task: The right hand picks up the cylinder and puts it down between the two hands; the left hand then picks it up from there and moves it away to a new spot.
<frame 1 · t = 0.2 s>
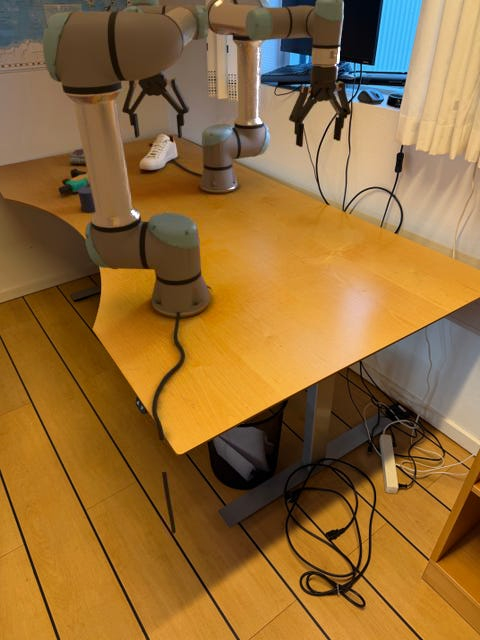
left hand: (158, 136, 149), 29 cm above the table, tool pointing down, fingers open, 13 cm apart
right hand: (318, 142, 145), 28 cm above the table, tool pointing down, fingers open, 13 cm apart
sneaker: (158, 164, 218), on the table
toy gun: (90, 162, 222), on the table
toy gun 2: (77, 186, 196), on the table
cylinder: (91, 208, 177), on the table
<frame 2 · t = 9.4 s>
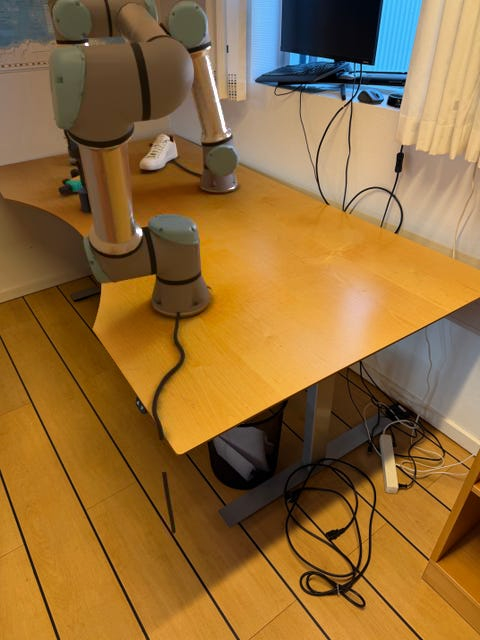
left hand: (93, 152, 128), 32 cm above the table, tool pointing down, fingers open, 13 cm apart
right hand: (91, 207, 177), 0 cm above the table, tool pointing down, fingers closed on cylinder, 7 cm apart
cylinder: (91, 208, 177), on the table, touching right hand
everything else where it was.
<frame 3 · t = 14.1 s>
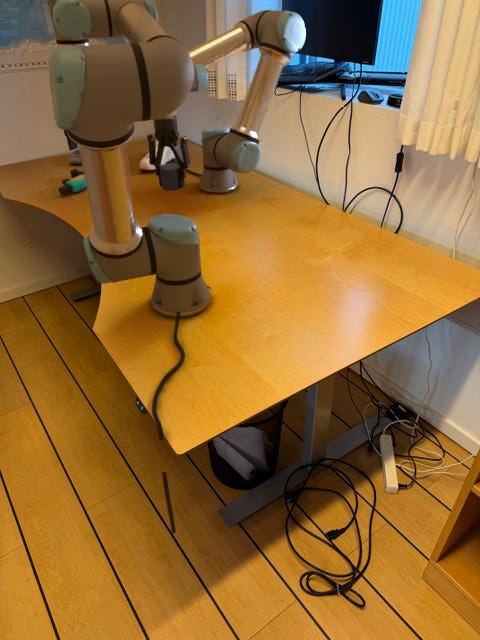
left hand: (93, 152, 128), 32 cm above the table, tool pointing down, fingers open, 13 cm apart
right hand: (172, 186, 165), 11 cm above the table, tool pointing down, fingers closed on cylinder, 7 cm apart
cylinder: (172, 187, 166), point 10 cm above the table, touching right hand
everything else where it was.
when the right hand's fingers open (2 cm above the table, at t = 18.8 s): cylinder drops 1 cm, on the table.
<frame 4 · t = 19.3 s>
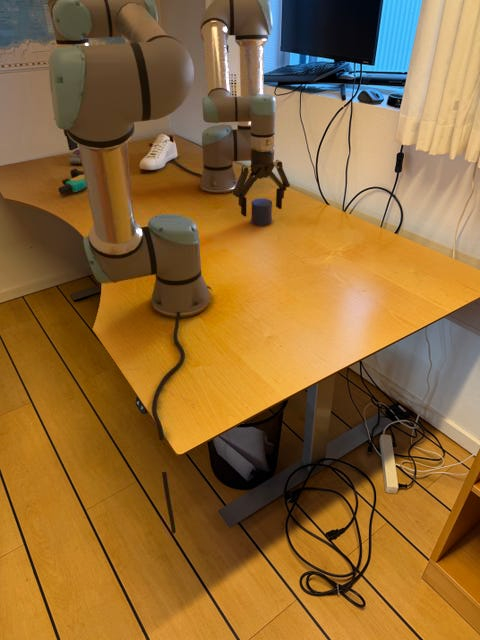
left hand: (93, 152, 128), 32 cm above the table, tool pointing down, fingers open, 13 cm apart
right hand: (261, 211, 164), 4 cm above the table, tool pointing down, fingers open, 13 cm apart
cylinder: (261, 221, 166), on the table
everything else where it was.
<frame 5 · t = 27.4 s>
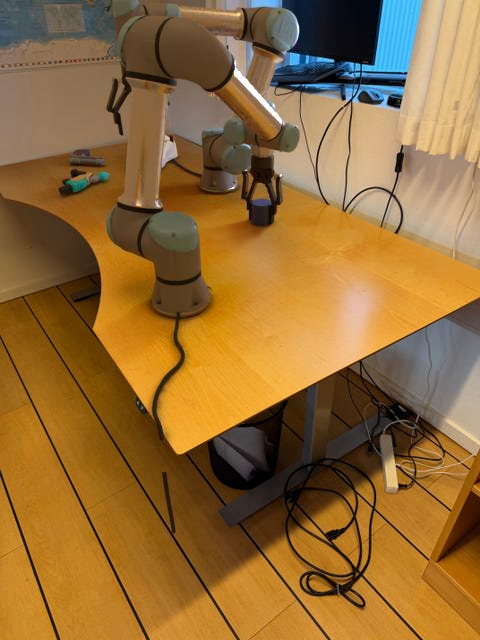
left hand: (261, 220, 166), 0 cm above the table, tool pointing down, fingers closed on cylinder, 7 cm apart
right hand: (141, 131, 156), 29 cm above the table, tool pointing down, fingers open, 13 cm apart
cylinder: (261, 221, 166), on the table, touching left hand
everything else where it was.
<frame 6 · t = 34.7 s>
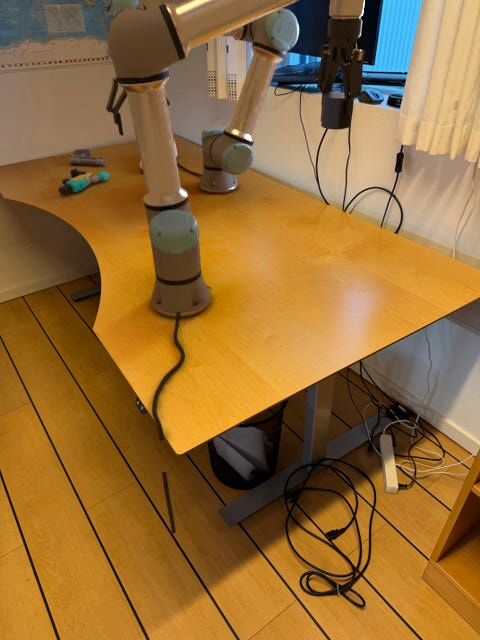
left hand: (334, 124, 120), 39 cm above the table, tool pointing down, fingers closed on cylinder, 7 cm apart
right hand: (141, 131, 156), 29 cm above the table, tool pointing down, fingers open, 13 cm apart
cylinder: (334, 126, 121), point 39 cm above the table, touching left hand
everything else where it was.
when the left hand's fingers open (2 cm above the table, at t = 42.4 s): cylinder drops 1 cm, on the table.
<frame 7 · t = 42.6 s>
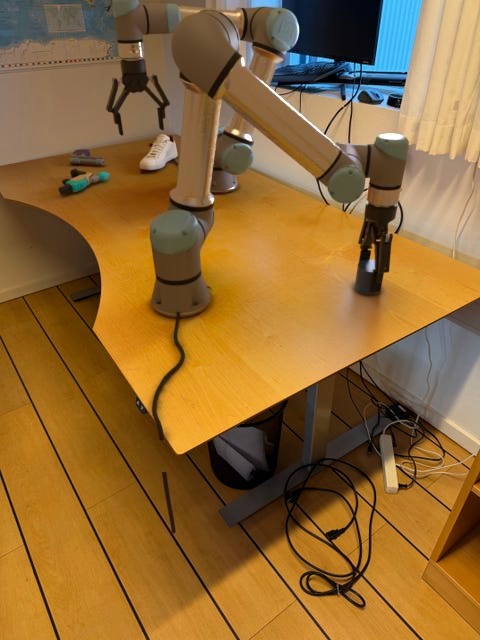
left hand: (368, 281, 128), 2 cm above the table, tool pointing down, fingers open, 9 cm apart
right hand: (141, 131, 156), 29 cm above the table, tool pointing down, fingers open, 13 cm apart
cylinder: (367, 288, 130), on the table
everything else where it was.
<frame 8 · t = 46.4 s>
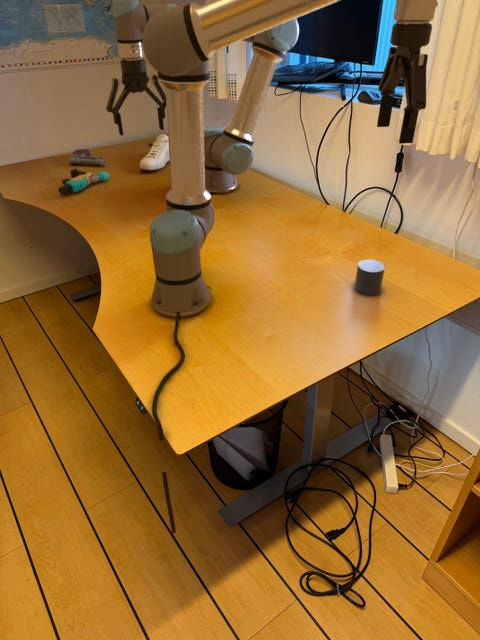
left hand: (393, 134, 106), 41 cm above the table, tool pointing down, fingers open, 13 cm apart
right hand: (141, 131, 156), 29 cm above the table, tool pointing down, fingers open, 13 cm apart
nothing on the table moved.
at the end: cylinder inside the target area (0.1 cm from its centre), on the table; cylinder tilted 0°; the two hands never held the cylinder at the same time; the left hand is holding nothing; the right hand is holding nothing; cylinder at rest at the end (0.0 cm/s) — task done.
